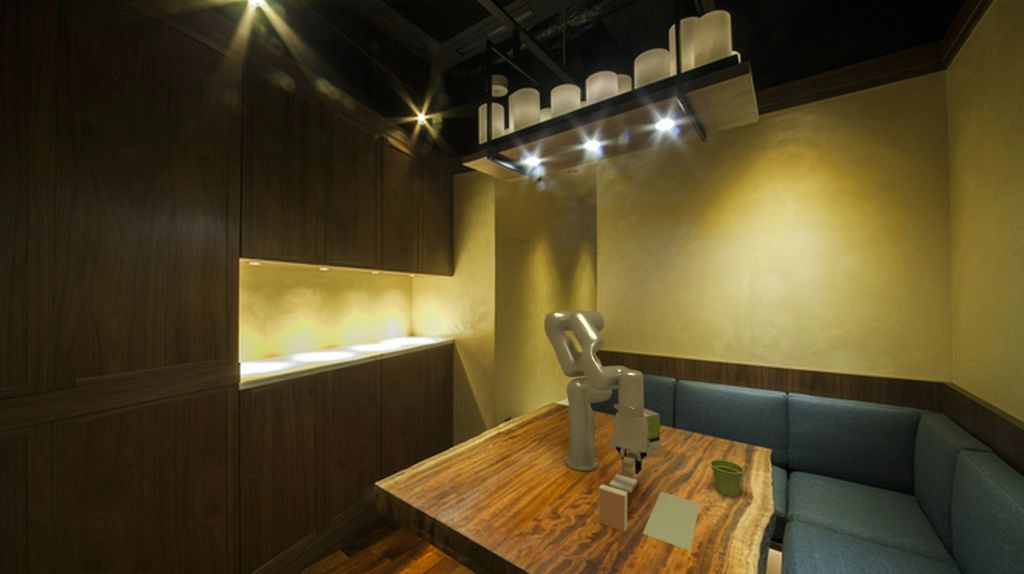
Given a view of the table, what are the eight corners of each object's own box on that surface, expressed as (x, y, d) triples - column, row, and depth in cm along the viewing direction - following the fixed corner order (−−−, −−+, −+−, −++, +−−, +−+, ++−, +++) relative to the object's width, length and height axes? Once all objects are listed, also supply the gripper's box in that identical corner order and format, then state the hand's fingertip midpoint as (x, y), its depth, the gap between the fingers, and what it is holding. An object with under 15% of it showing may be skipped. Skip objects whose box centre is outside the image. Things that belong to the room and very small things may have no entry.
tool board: (660, 494, 110) (660, 491, 111) (699, 506, 104) (699, 503, 104) (642, 536, 90) (642, 533, 90) (690, 554, 84) (690, 550, 84)
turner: (629, 460, 117) (628, 444, 117) (647, 464, 114) (647, 449, 114) (609, 486, 99) (609, 468, 100) (630, 492, 96) (630, 474, 96)
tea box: (616, 439, 154) (616, 405, 154) (633, 436, 158) (634, 403, 159) (642, 453, 140) (642, 416, 141) (660, 449, 144) (660, 413, 145)
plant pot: (703, 486, 116) (703, 459, 116) (730, 485, 117) (730, 459, 117) (722, 502, 107) (722, 473, 107) (751, 501, 107) (751, 472, 108)
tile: (601, 521, 96) (601, 484, 97) (627, 530, 93) (627, 492, 93) (598, 525, 95) (598, 487, 95) (624, 535, 91) (625, 496, 91)
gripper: (601, 409, 111) (601, 468, 109) (656, 418, 102) (657, 483, 101) (609, 403, 117) (609, 460, 116) (661, 412, 108) (662, 473, 107)
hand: (631, 470), depth 108 cm, fingers closed on turner, 3 cm apart
